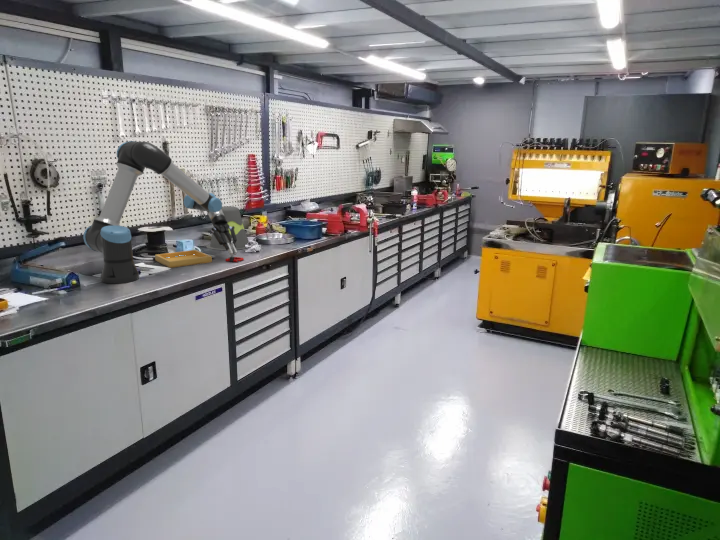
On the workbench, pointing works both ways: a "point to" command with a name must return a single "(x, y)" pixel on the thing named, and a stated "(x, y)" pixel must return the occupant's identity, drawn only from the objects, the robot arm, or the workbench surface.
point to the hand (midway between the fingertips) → (233, 253)
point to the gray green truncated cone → (232, 220)
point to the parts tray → (183, 258)
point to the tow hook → (232, 259)
